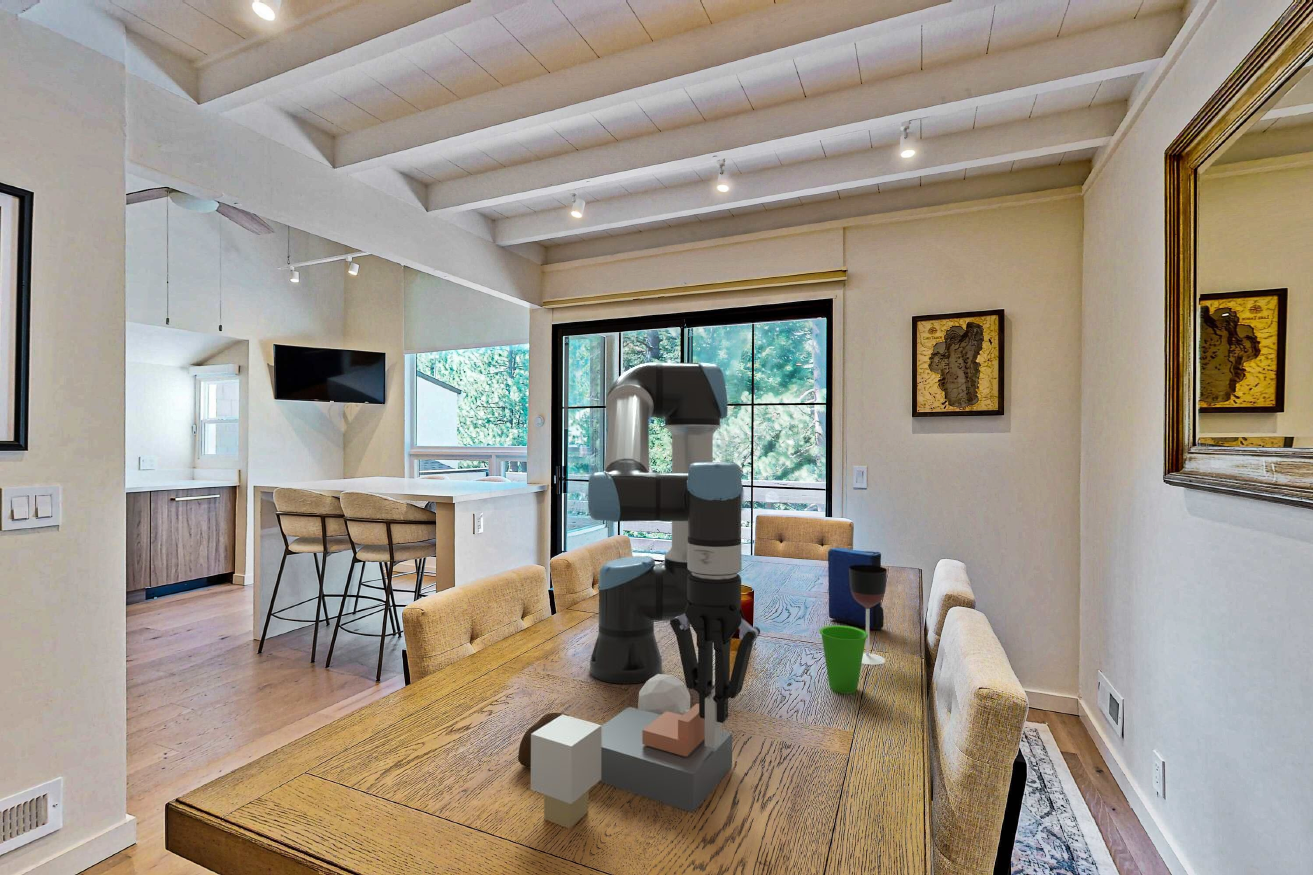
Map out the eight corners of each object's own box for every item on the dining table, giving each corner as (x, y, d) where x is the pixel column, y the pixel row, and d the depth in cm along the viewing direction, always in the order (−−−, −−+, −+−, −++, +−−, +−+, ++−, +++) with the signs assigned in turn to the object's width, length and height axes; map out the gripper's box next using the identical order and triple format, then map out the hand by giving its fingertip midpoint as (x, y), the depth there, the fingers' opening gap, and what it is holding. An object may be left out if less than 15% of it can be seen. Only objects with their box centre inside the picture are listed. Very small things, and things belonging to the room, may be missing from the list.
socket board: (580, 775, 88) (580, 740, 88) (628, 737, 99) (628, 706, 99) (693, 813, 79) (693, 774, 79) (731, 766, 91) (732, 732, 91)
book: (886, 628, 158) (886, 551, 158) (875, 633, 155) (875, 553, 155) (836, 616, 169) (836, 544, 169) (826, 620, 165) (826, 546, 165)
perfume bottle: (620, 717, 103) (670, 752, 94) (637, 662, 104) (688, 692, 95) (653, 716, 109) (704, 749, 100) (669, 665, 110) (721, 694, 101)
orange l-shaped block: (642, 743, 87) (642, 712, 87) (666, 724, 93) (666, 694, 93) (686, 756, 83) (686, 723, 83) (708, 735, 89) (708, 704, 89)
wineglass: (847, 662, 134) (847, 570, 134) (850, 649, 142) (850, 563, 142) (886, 667, 131) (886, 573, 131) (887, 654, 139) (887, 566, 139)
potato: (508, 761, 92) (508, 715, 92) (570, 741, 98) (570, 697, 98) (529, 782, 86) (529, 733, 86) (592, 759, 93) (593, 713, 93)
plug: (530, 820, 78) (531, 733, 78) (562, 795, 83) (562, 714, 83) (571, 837, 74) (571, 746, 74) (601, 809, 80) (601, 725, 80)
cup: (870, 699, 114) (871, 640, 114) (820, 695, 116) (820, 637, 116) (864, 681, 123) (864, 626, 123) (818, 677, 125) (818, 623, 125)
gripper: (660, 573, 85) (659, 742, 85) (749, 584, 79) (748, 767, 79) (684, 563, 92) (683, 721, 92) (768, 573, 85) (767, 742, 85)
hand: (713, 742), depth 85 cm, fingers closed
